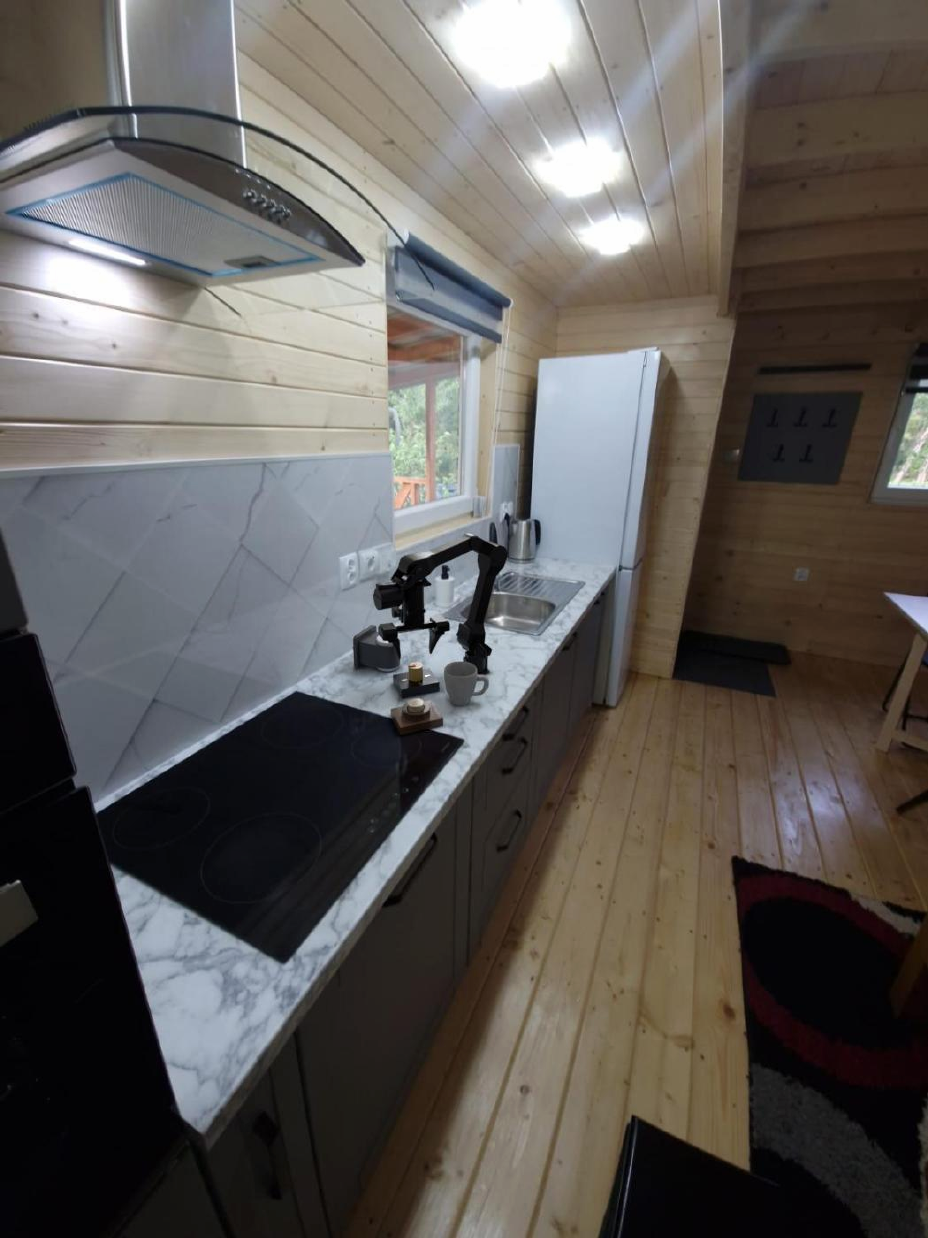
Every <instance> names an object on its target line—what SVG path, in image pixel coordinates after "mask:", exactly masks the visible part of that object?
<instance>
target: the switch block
mask: <svg viewBox="0 0 928 1238" xmlns="http://www.w3.org/2000/svg"><path fill="white" fill-rule="evenodd" d="M409 701H410V700H408V701H407V702H405V703H404V704H403V705H402V706H397V707H393V708H390V717H391V720H392V721H393V723H394V725H395V727H396V728H397V731H398V733H399V735H400V736H403V735H407V734H411V733H416V732H421V731H425V730H429V729H434V728H438V727H443V726H444V717H443V716H442V714H441V712H440V711H439V710H438V708H437V707H436V706H435V704H434V702H433V701H432V700H426V701H425V700H423V701H424V710H423V711H421V712H411V711H409V710H408V702H409Z"/></svg>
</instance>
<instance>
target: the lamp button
mask: <svg viewBox="0 0 928 1238" xmlns="http://www.w3.org/2000/svg"><path fill="white" fill-rule="evenodd" d="M408 701H409V702H408ZM408 701H407V702H408V710H409V711H411V712H421V711H423V710H424V701H425V700H423V699H422V698H418V697H417V698H412V699H409V700H408Z"/></svg>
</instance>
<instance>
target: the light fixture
mask: <svg viewBox="0 0 928 1238" xmlns="http://www.w3.org/2000/svg"><path fill="white" fill-rule="evenodd" d="M398 639H399V637H398ZM399 640H400V639H399ZM352 651H353V653H352V654H353V668H355V669H361V668H362V667H363V666H371V667H375V668H376V669H377V670H379V671H381V672H393V671H396V670H397V669H398V668H399V666H400V664H401V659H399V658H398V656H397V653H396V651H395V649H394V646H393V644H392V643H388V641H383V640H382V638H381V637H380V635H379V634H378V627H377V626H376V625H373V624H370V625H369V626H368V627H366V628H365V629H363V630H361V631H360V632H358V633H356V634H355V635H354V636H353V638H352Z"/></svg>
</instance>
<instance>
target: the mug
mask: <svg viewBox="0 0 928 1238" xmlns="http://www.w3.org/2000/svg"><path fill="white" fill-rule="evenodd" d="M443 677H444V687H445V690H446V692H447V696H448V697H449V699H450V702H451V703H452V704H453V705H456V706H466V705H468V704H470V702H471V699H472V697H478V696H479V697H480V696H483V695H484V694H485V693H486V692H487V690H488V688H489V686H490V681H489V678H488V676H487V675H486V674H482V675H478V674H477V668H476V666H475V665H473V664H471V663H468V662H463V661H452V662H450V663H448V664H446V665H445V666H444V669H443ZM477 682H483V686H482V689H480V690H478V691H475V690H476V687H477Z"/></svg>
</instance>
